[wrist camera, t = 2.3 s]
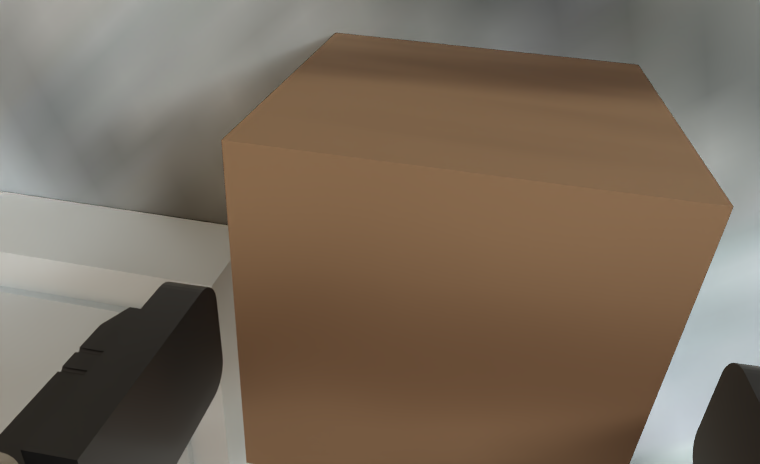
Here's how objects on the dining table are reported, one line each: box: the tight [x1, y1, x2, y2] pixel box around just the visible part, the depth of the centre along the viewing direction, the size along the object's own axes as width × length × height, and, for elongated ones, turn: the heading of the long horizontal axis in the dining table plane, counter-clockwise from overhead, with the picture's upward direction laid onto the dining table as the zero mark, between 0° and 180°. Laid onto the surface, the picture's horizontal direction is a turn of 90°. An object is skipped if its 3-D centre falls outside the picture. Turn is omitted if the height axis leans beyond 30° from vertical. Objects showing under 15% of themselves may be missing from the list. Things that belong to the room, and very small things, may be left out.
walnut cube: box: [221, 33, 733, 464], centre depth 11 cm, size 6×6×6 cm
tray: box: [0, 191, 251, 464], centre depth 18 cm, size 12×12×3 cm
